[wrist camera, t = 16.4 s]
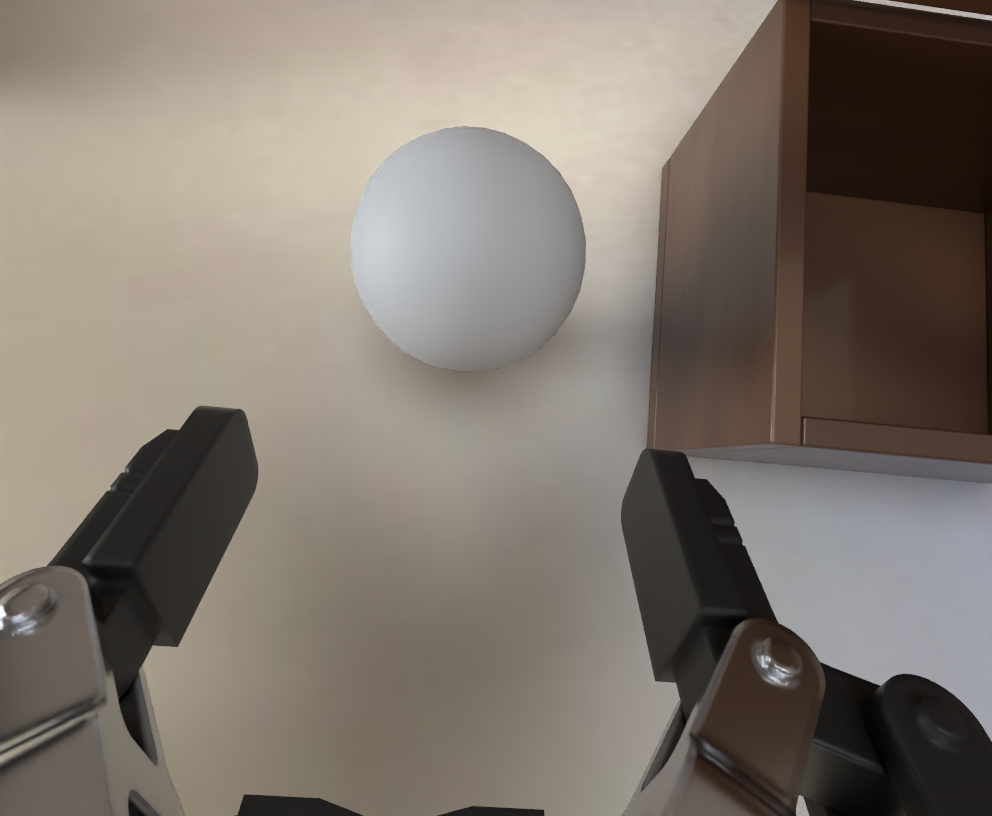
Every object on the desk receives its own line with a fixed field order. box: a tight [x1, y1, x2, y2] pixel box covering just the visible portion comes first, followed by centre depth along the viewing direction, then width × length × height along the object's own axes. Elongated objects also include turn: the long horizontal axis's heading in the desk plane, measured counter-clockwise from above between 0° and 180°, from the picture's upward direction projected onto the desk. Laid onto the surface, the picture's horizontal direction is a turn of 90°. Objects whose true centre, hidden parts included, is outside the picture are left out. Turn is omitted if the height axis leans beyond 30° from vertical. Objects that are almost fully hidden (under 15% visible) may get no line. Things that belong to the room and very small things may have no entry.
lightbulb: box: [350, 126, 586, 372], centre depth 16 cm, size 6×6×11 cm
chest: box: [647, 0, 992, 484], centre depth 19 cm, size 13×15×9 cm
